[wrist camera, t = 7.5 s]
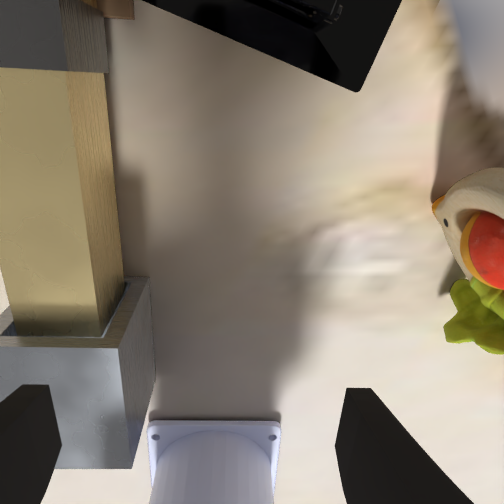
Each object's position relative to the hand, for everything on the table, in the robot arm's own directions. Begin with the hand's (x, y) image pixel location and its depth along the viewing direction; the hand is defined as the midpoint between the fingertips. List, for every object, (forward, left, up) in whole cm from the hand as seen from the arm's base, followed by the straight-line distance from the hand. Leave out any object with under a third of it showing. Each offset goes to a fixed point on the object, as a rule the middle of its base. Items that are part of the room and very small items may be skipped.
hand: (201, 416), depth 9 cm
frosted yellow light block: (+5, +6, -10) cm, 13 cm away
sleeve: (-5, +6, -10) cm, 13 cm away
